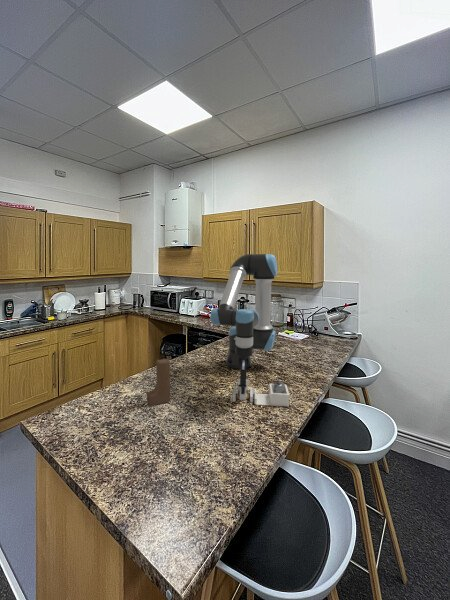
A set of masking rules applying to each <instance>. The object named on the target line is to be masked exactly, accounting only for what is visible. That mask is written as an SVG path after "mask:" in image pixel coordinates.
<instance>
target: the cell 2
mask: <svg viewBox="0 0 450 600" xmlns="http://www.w3.org/2000/svg"><path fill="white" fill-rule="evenodd" d="M273 384H274V393H282V394H284V384H285V383H284V382H282V381H278V380H277V381H275V382H273Z"/></svg>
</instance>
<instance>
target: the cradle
mask: <svg viewBox="0 0 450 600" xmlns="http://www.w3.org/2000/svg"><path fill="white" fill-rule="evenodd" d="M249 388H250V389H249V391H250V393H249V403H254V388H253V387H249ZM237 393H238V386H233V391H232V402H236V400H237Z"/></svg>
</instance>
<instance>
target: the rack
mask: <svg viewBox="0 0 450 600" xmlns="http://www.w3.org/2000/svg"><path fill="white" fill-rule="evenodd" d="M268 387H269V389H268V390H269V392H268V393H257V388H254V389H253V400H254V405H259V406H275V407H290V392H289V389H288V386H287V384H285V383H284V394H282V393H274V383H269V386H268Z"/></svg>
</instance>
